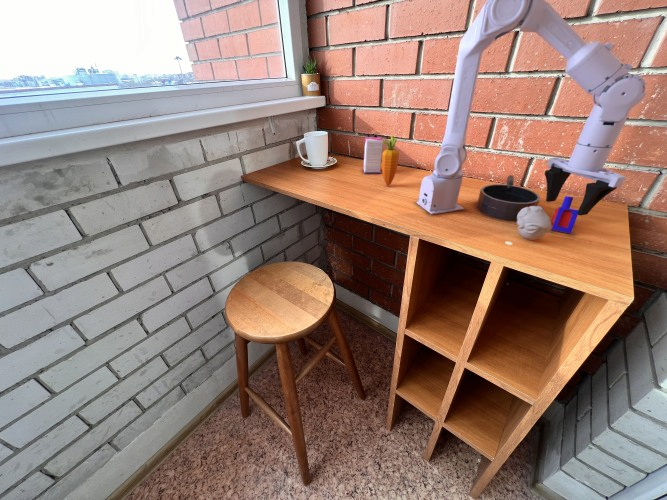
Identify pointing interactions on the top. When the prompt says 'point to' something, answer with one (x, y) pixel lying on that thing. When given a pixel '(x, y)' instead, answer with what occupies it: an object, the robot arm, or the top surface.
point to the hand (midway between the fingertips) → (565, 207)
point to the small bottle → (564, 217)
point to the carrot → (389, 161)
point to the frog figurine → (533, 222)
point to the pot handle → (510, 181)
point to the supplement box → (372, 155)
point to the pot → (505, 201)
